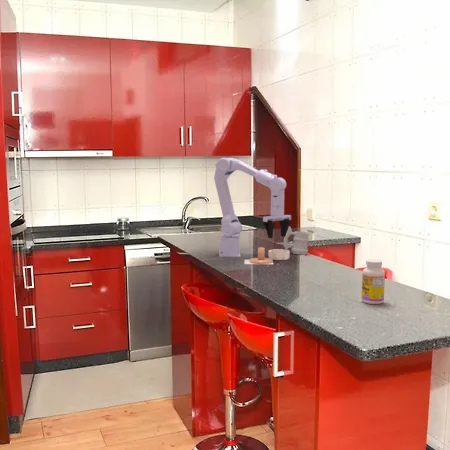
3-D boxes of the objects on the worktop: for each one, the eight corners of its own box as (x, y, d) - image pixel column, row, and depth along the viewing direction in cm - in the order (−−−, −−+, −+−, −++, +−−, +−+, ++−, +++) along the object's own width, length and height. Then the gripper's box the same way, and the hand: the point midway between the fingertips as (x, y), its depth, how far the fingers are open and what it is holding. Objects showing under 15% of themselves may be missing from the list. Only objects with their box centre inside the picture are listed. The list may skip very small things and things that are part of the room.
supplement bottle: (358, 299, 172) (359, 258, 171) (379, 299, 173) (380, 258, 171) (365, 304, 166) (367, 262, 164) (387, 304, 166) (388, 262, 165)
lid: (249, 263, 228) (249, 249, 227) (249, 259, 238) (249, 245, 237) (273, 264, 228) (273, 249, 227) (272, 260, 237) (272, 246, 236)
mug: (309, 255, 251) (312, 229, 250) (284, 253, 249) (286, 226, 248) (305, 253, 258) (308, 227, 257) (280, 250, 257) (283, 225, 256)
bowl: (268, 260, 238) (269, 252, 238) (268, 256, 247) (268, 249, 246) (289, 260, 238) (290, 252, 237) (288, 257, 246) (288, 249, 246)
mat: (244, 264, 228) (244, 263, 228) (244, 260, 238) (244, 259, 238) (273, 265, 227) (273, 264, 227) (272, 260, 237) (272, 259, 237)
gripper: (271, 207, 229) (270, 239, 231) (296, 205, 238) (295, 237, 240) (259, 206, 235) (259, 237, 237) (284, 204, 244) (284, 235, 245)
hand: (276, 237), depth 238 cm, fingers open, 7 cm apart
